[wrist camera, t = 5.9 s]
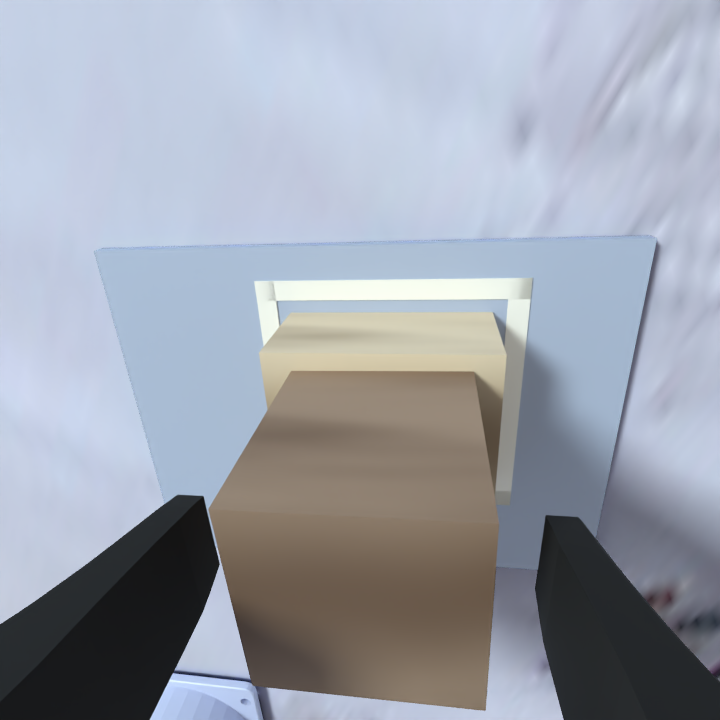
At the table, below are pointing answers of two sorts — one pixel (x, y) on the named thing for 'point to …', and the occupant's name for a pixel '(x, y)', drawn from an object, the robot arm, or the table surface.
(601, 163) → the table surface
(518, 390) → the board
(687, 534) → the table surface
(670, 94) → the table surface
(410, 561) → the walnut block
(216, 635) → the table surface
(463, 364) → the oak slab
